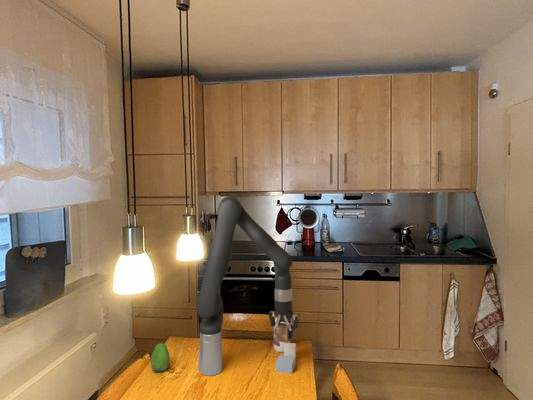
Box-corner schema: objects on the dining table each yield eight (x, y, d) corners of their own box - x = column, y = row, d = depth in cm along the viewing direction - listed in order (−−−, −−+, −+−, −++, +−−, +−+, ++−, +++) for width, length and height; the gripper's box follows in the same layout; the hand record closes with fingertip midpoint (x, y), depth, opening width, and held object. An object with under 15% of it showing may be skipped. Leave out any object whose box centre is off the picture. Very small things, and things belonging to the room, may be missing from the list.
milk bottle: (289, 344, 172) (288, 304, 171) (290, 352, 164) (290, 310, 163) (273, 345, 171) (272, 305, 171) (274, 352, 164) (273, 311, 163)
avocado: (168, 374, 146) (167, 346, 146) (149, 376, 145) (148, 348, 145) (171, 364, 154) (170, 338, 154) (153, 366, 153) (152, 339, 153)
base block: (275, 371, 148) (275, 362, 147) (279, 363, 154) (279, 354, 154) (291, 374, 146) (291, 364, 146) (295, 365, 152) (295, 356, 152)
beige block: (283, 360, 156) (283, 347, 156) (285, 355, 161) (285, 342, 161) (295, 361, 155) (294, 348, 155) (296, 356, 160) (295, 343, 160)
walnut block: (276, 340, 148) (276, 326, 148) (281, 336, 152) (280, 322, 152) (287, 342, 146) (287, 328, 146) (291, 338, 150) (291, 324, 150)
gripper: (264, 298, 148) (265, 338, 149) (296, 303, 142) (296, 344, 143) (271, 293, 155) (272, 331, 156) (302, 297, 149) (303, 336, 149)
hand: (284, 337), depth 149 cm, fingers closed on walnut block, 5 cm apart
